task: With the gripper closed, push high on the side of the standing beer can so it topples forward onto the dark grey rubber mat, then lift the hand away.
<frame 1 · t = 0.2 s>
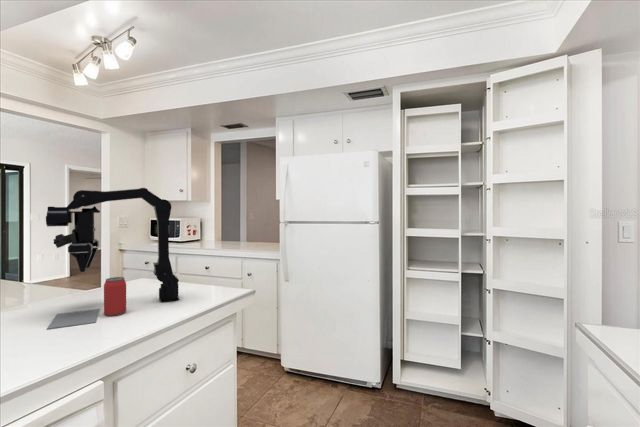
hand: (85, 269, 116), 14 cm above the worktop, tool pointing down, fingers open, 9 cm apart
beer can: (115, 314, 112), on the worktop
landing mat: (75, 318, 107), on the worktop
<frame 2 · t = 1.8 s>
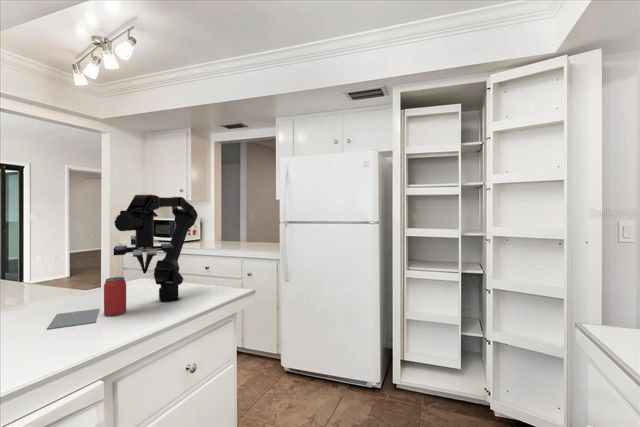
hand: (144, 273, 117), 13 cm above the worktop, tool pointing down, fingers closed
nothing on the worktop moved.
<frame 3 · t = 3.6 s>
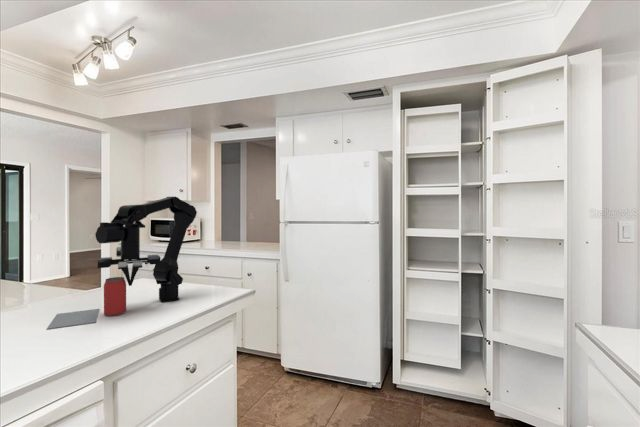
hand: (130, 285, 114), 9 cm above the worktop, tool pointing down, fingers closed
beer can: (115, 314, 112), on the worktop, touching gripper
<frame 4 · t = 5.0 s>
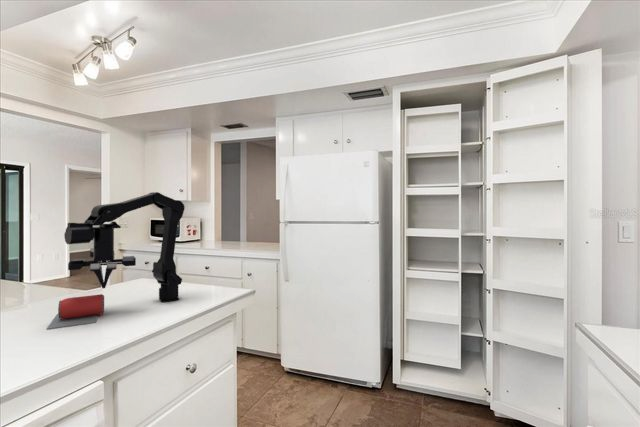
hand: (103, 288, 111), 9 cm above the worktop, tool pointing down, fingers closed
beer can: (104, 303, 111), point 4 cm above the worktop, touching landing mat
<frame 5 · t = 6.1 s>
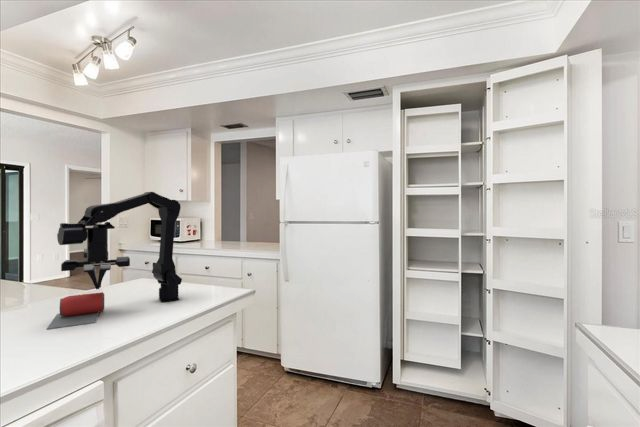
hand: (97, 289, 110), 9 cm above the worktop, tool pointing down, fingers closed
beer can: (104, 301, 114), point 4 cm above the worktop, touching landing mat
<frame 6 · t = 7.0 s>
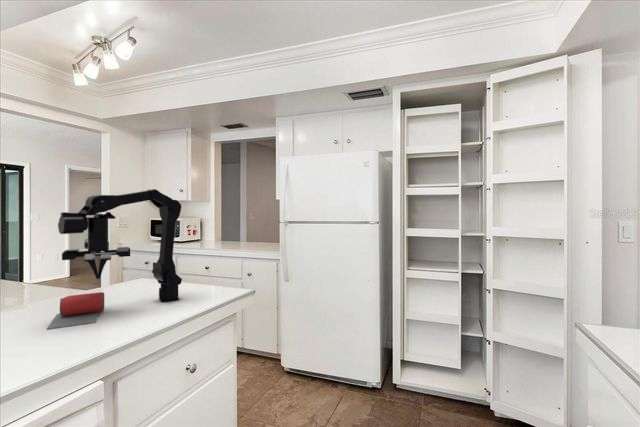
hand: (98, 278, 110), 12 cm above the worktop, tool pointing down, fingers closed
nothing on the worktop moved.
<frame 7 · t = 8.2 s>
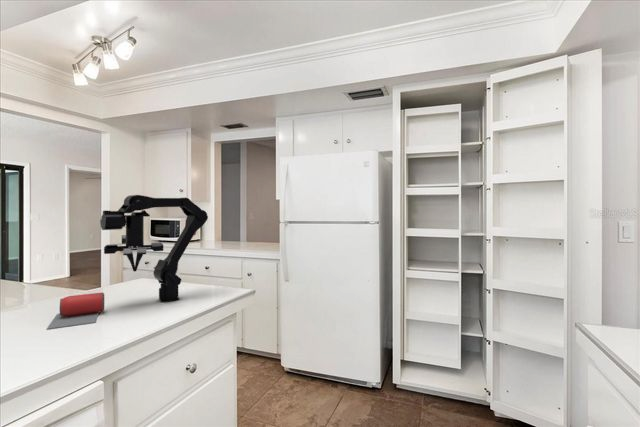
hand: (134, 271, 120), 13 cm above the worktop, tool pointing down, fingers closed
nothing on the worktop moved.
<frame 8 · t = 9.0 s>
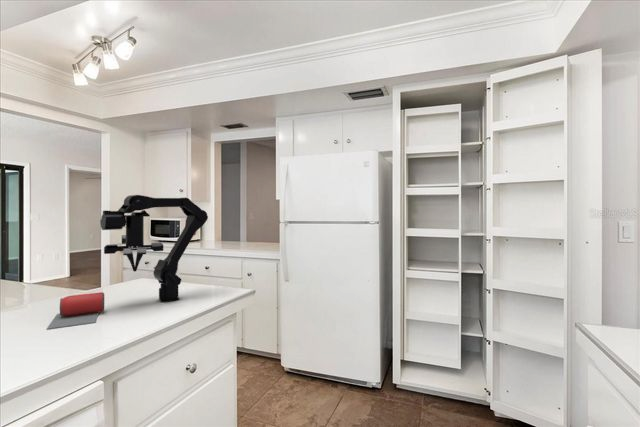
hand: (134, 271, 120), 13 cm above the worktop, tool pointing down, fingers closed
nothing on the worktop moved.
at the end: beer can tilted 90°; beer can inside the target area (7.4 cm from its centre), point 3.6 cm above the worktop; the gripper is holding nothing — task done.
